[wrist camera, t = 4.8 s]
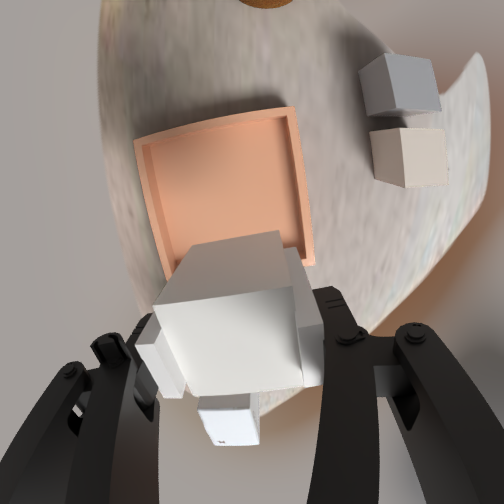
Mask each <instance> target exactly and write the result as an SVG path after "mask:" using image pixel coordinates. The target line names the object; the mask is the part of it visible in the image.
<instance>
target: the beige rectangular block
mask: <svg viewBox="0 0 504 504" xmlns="http://www.w3.org/2000/svg"><path fill="white" fill-rule="evenodd" d="M369 133H370V140H371V148H372V156H373V165H374V176H375V179H376V180H380V181H383V182H387V183H390V184H393V185H397V186H400V187H403V188H413V187H425V186H440V185H449V182H448V162H447V149H446V139H445V131H444V130H443V129H424V128H394V129H386V130H379V131H372V132H369Z"/></svg>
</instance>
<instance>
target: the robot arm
mask: <svg viewBox="0 0 504 504" xmlns="http://www.w3.org/2000/svg"><path fill="white" fill-rule="evenodd" d="M284 252H285V257H286V261H287V265H288V269H289V273H290V277H291V282H292V286H293V293H294V300H295V308H296V311H294V313H295V321H296V328H297V336H298V344H299V352H300V360H301V369H302V376H303V382H304V388H306V387H311V386H317V385H322V384H323V394H322V404H321V413H320V422H319V423H320V424H319V431H318V439H317V446H316V454H315V460H314V466H313V472H312V478H311V483H310V489H309V494H308V499H307V504H378V500H379V468H380V465H379V464H380V459H379V458H380V456H379V424H378V409H377V397H386V398H387V401H388V403H389V405H390V408H391V410H392V413H393V415H394V417H395V420H396V422H397V425H398V427H399V429H400V432H401V434H402V437H403V439H404V442H405V444H406V447H407V450H408V452H409V455H410V457H411V460H412V463H413V465H414V468H415V471H416V474H417V477H418V479H419V482H420V484H421V488H422V491H423V494H424V497H425V500H426V503H427V504H504V429H503V427H502V426H501V424H500V422H499V421H498V419H497V417H496V416H495V414H494V413H493V411H492V409H491V408H490V406H489V405H488V403H487V402H486V400H485V399H484V397H483V396H482V394H481V393H480V391H479V390H478V388H477V387H476V386H475V384H474V383H473V381H472V380H471V379H470V377H469V376H468V375H467V373H466V372H465V370H464V369H463V368H462V366H461V365H460V364H459V362H458V361H457V360H456V358H455V357H454V356H453V355H452V353H451V352H450V350H449V349H448V348H447V347H446V345H445V344H444V343H443V342H442V340H441V339H440V338H439V337H438V335H437V334H436V333H435V332H434V330H432V329H431V328H430V327H429V326H427V325H424V324H422V323H415V322H414V323H408V324H405V325H403V326H400V328H399V329H398V330H397V331H396V334H395V337H376V336H371V335H369V334H368V332H367V330H365V329H364V328H363V327H360V326H358V325H357V323H356V321H355V319H354V317H353V315H352V313H351V311H350V309H349V307H348V305H347V303H346V302H345V300H344V298H343V296H342V294H341V292H340V291H339V290H337V289H336V288H334V287H333V286H329V287H324V288H319V289H313V290H312V289H311V286H310V283H309V280H308V278H307V275H306V272H305V269H304V267H303V264H302V261H301V259H300V256H299V253H298V251H297V248H296V247H291V248H285V249H284ZM90 347H91V348H92V350H93V352H94V354H95V355H96V357H97V359H98V360H99V362H100V367H99V368H96V369H91V370H86V368H85V367H84V365H83V364H82V363H81V362H78V361H75V362H70V363H67V364H66V365H65V366H63V367H62V368H61V369H60V370H59V372H58V373H57V375H56V376H55V377H54V379H53V380H52V381H51V383H50V384H49V386H48V387H47V388H46V390H45V391H44V393H43V394H42V396H41V397H40V399H39V400H38V402H37V403H36V404H35V406H34V408H33V409H32V411H31V412H30V414H29V415H28V417H27V418H26V420H25V421H24V423H23V424H22V426H21V428H20V429H19V431H18V432H17V434H16V436H15V437H14V439H13V441H12V443H11V444H10V446H9V448H8V449H7V451H6V453H5V455H4V456H3V458H2V460H1V462H0V504H159V485H158V484H159V482H158V442H159V441H158V440H159V412H160V405H159V401H158V400H157V398H156V394H157V391H158V389H159V390H160V392H161V393H162V395H163V397H164V398H182V397H183V393H184V390H185V386H186V380H185V378H184V376H183V374H182V372H181V370H180V368H179V366H178V364H177V361H176V359H175V357H174V355H173V353H172V350H171V348H170V346H169V344H168V341H167V339H166V337H165V335H164V332H163V330H162V328H161V326H160V323H159V321H158V319H157V316H156V314H155V311H154V312H153V313H149V314H147V315H145V316H144V317H143V318H142V319H141V320H140V321H139V323H138V324H137V326H136V329H134V330H133V332H132V335H130V337H129V339H128V341H127V342H126V344H125V342H124V340H123V338H122V336H121V335H120V334H119V333H116V332H114V333H107V334H104V335H102V336H100V337H98V338H97V339H96V340H95V341H93V343H92V344H91V345H90ZM75 404H76V405H77V407H78V408H79V409H80V410H81V412H82V413H83V414H82V415H81V416H80V417H78V416H77V415H76V413H75V412H74V411H73V410H72V409H73V407H74V405H75Z"/></svg>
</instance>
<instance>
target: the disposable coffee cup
mask: <svg viewBox="0 0 504 504" xmlns="http://www.w3.org/2000/svg"><path fill="white" fill-rule="evenodd" d="M240 1H241V2H243V3H245V4H247V5H249V6H253V7H257V8H265V9H268V8H277V7H281V6H284V5H286V4H288V3H290V2H291V1H292V0H240Z"/></svg>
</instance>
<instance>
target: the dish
mask: <svg viewBox="0 0 504 504" xmlns="http://www.w3.org/2000/svg"><path fill="white" fill-rule="evenodd" d="M133 144H134V150H135V155H136V160H137V166H138V171H139V175H140V180H141V185H142V190H143V194H144V198H145V203H146V207H147V211H148V215H149V219H150V223H151V227H152V231H153V235H154V239H155V242H156V246H157V250H158V253H159V257H160V260H161V264H162V267H163V270H164V274H165V277H166V280H167V282H168V281H169V279H170V278H171V276H172V275H173V273H174V272H175V270H176V268H177V267H178V265H179V264H180V262H181V261H182V260H183V258H184V257H185V255H186V254H187V252H188V251H189V249H190V248H191V246H192V245H197V244H202V243H207V242H213V241H218V240H224V239H229V238H235V237H240V236H246V235H252V234H257V233H263V232H269V231H275V230H279V232H280V236H281V240H282V244H283V248H284V249H285V248H291V247H296V248H297V251H298V253H299V256H300V259H301V261H302V264H303V267H305V266H311V265H315V256H314V245H313V235H312V225H311V216H310V207H309V199H308V191H307V183H306V176H305V169H304V162H303V155H302V148H301V142H300V136H299V130H298V124H297V118H296V113H295V107H294V106H290V107H281V108H273V109H265V110H258V111H252V112H246V113H240V114H234V115H229V116H223V117H218V118H214V119H209V120H204V121H200V122H196V123H191V124H187V125H183V126H179V127H176V128H172V129H168V130H165V131H161V132H158V133H154V134H151V135H147V136H144V137H141V138H138V139H135V140H133Z"/></svg>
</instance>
